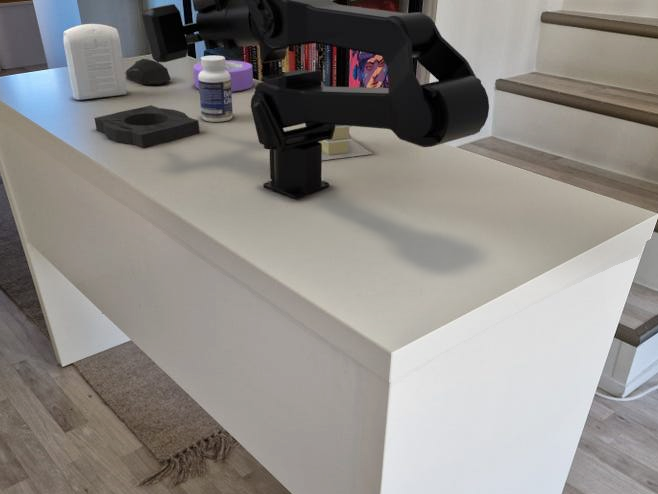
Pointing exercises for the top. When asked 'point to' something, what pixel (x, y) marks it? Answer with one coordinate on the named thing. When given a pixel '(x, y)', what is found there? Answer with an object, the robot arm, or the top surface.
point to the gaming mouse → (148, 72)
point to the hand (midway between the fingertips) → (176, 25)
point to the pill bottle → (215, 90)
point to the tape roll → (232, 74)
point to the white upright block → (94, 61)
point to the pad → (158, 130)
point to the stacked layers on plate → (341, 145)
